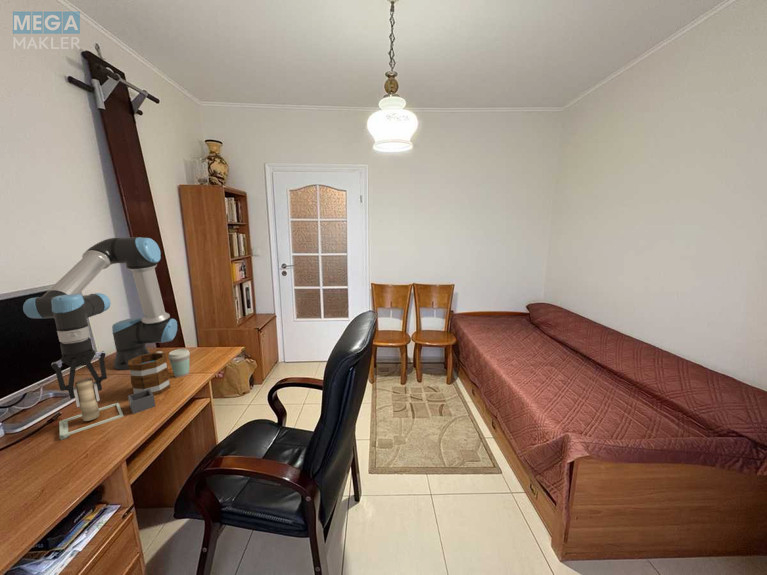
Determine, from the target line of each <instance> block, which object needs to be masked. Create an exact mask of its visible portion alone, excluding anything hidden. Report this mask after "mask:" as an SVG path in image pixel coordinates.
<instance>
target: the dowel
mask: <svg viewBox="0 0 767 575" xmlns="http://www.w3.org/2000/svg"><path fill="white" fill-rule="evenodd" d="M93 382H94V378H93V377H91V378H90V377H87V378H83V379H80V380H78V381H76V382H74V385H75V387H76V389H77V394H78V398H79V403H80V407H79V408H80V413H81V414H82V421H83V422H89V421H93V420H95V419H97V418H99V417H100V416H101V414H100V411H99V408H100V407H99V404H98V401H97V399H96V394H95V389H94V383H93Z"/></svg>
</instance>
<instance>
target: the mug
mask: <svg viewBox="0 0 767 575" xmlns="http://www.w3.org/2000/svg"><path fill="white" fill-rule="evenodd" d="M128 367H129V369H128V370H129V372H130V383H131V386H132V390H133V394H135V393H138V392H141V391H145V390H148V389H150V390H151V392H152V393H153V395H154V397H155V396H158V395H161V394H163V393H165V392H166V391H168V390H170V389H171V383H170V377H169V376H170V375H169V374H170V373H169V368H168V364H167V354H166V352H164V351H159V350H158V351H155V352H151V353H150V354H145V355H140V356H138V357H135V358H133V359H131V360H129V361H128Z"/></svg>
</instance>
